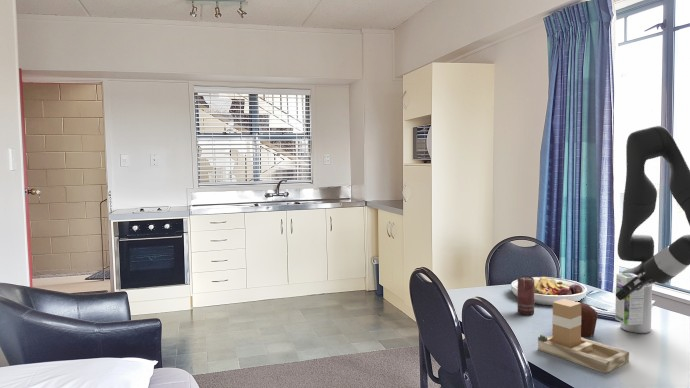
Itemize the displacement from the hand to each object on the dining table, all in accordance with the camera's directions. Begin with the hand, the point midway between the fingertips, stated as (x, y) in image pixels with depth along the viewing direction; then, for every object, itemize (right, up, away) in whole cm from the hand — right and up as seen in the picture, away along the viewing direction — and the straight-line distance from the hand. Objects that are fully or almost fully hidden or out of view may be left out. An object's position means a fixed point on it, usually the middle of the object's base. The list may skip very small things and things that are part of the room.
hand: (624, 294), depth 160 cm
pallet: (-12, -19, +2) cm, 23 cm away
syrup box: (+1, -8, 0) cm, 8 cm away
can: (-16, -16, +42) cm, 48 cm away
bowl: (+1, -14, +64) cm, 65 cm away
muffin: (-4, -17, +21) cm, 28 cm away
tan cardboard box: (-15, -18, +6) cm, 25 cm away
